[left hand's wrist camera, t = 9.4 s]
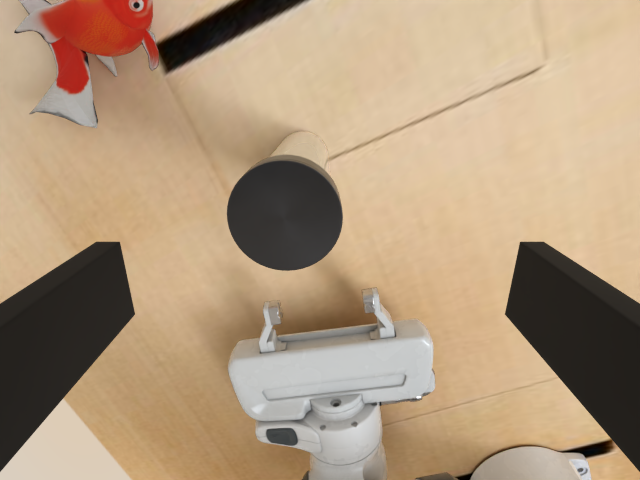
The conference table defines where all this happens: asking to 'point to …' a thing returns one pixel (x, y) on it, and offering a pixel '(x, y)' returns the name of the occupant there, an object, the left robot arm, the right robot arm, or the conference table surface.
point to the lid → (285, 213)
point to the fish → (86, 46)
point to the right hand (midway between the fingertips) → (320, 297)
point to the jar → (305, 148)
